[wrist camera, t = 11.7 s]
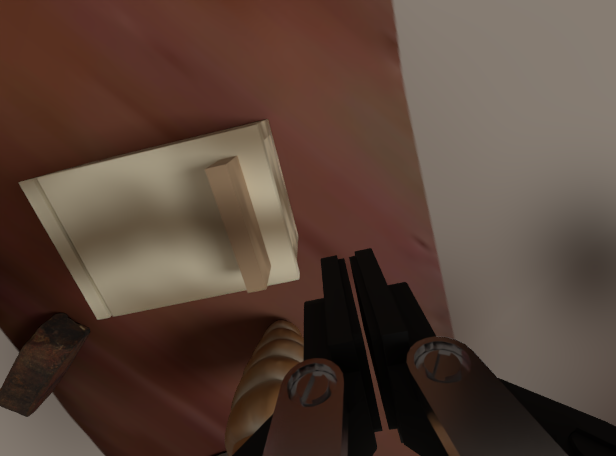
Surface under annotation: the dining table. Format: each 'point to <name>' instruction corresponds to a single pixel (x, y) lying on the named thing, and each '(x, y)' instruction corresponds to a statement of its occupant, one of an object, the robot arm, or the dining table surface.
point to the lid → (169, 223)
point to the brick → (42, 364)
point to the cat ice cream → (262, 382)
